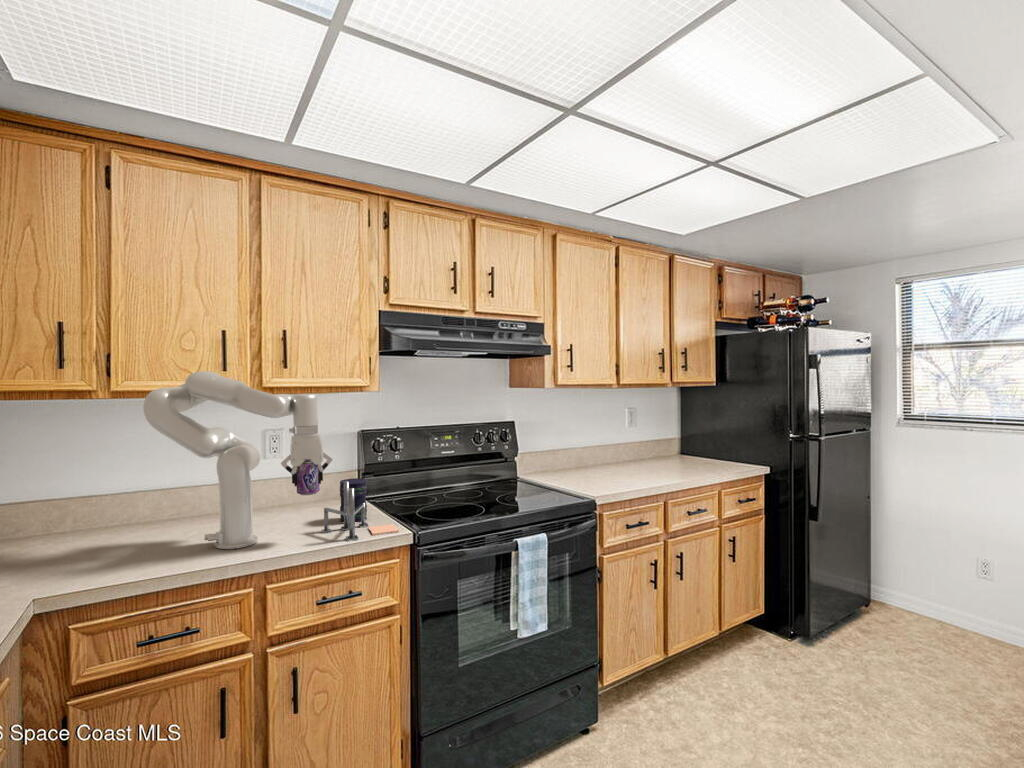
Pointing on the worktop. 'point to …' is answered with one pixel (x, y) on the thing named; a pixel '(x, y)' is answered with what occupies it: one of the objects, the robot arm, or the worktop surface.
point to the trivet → (383, 529)
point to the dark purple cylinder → (355, 496)
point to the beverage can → (307, 478)
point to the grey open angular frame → (347, 513)
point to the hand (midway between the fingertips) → (307, 484)
